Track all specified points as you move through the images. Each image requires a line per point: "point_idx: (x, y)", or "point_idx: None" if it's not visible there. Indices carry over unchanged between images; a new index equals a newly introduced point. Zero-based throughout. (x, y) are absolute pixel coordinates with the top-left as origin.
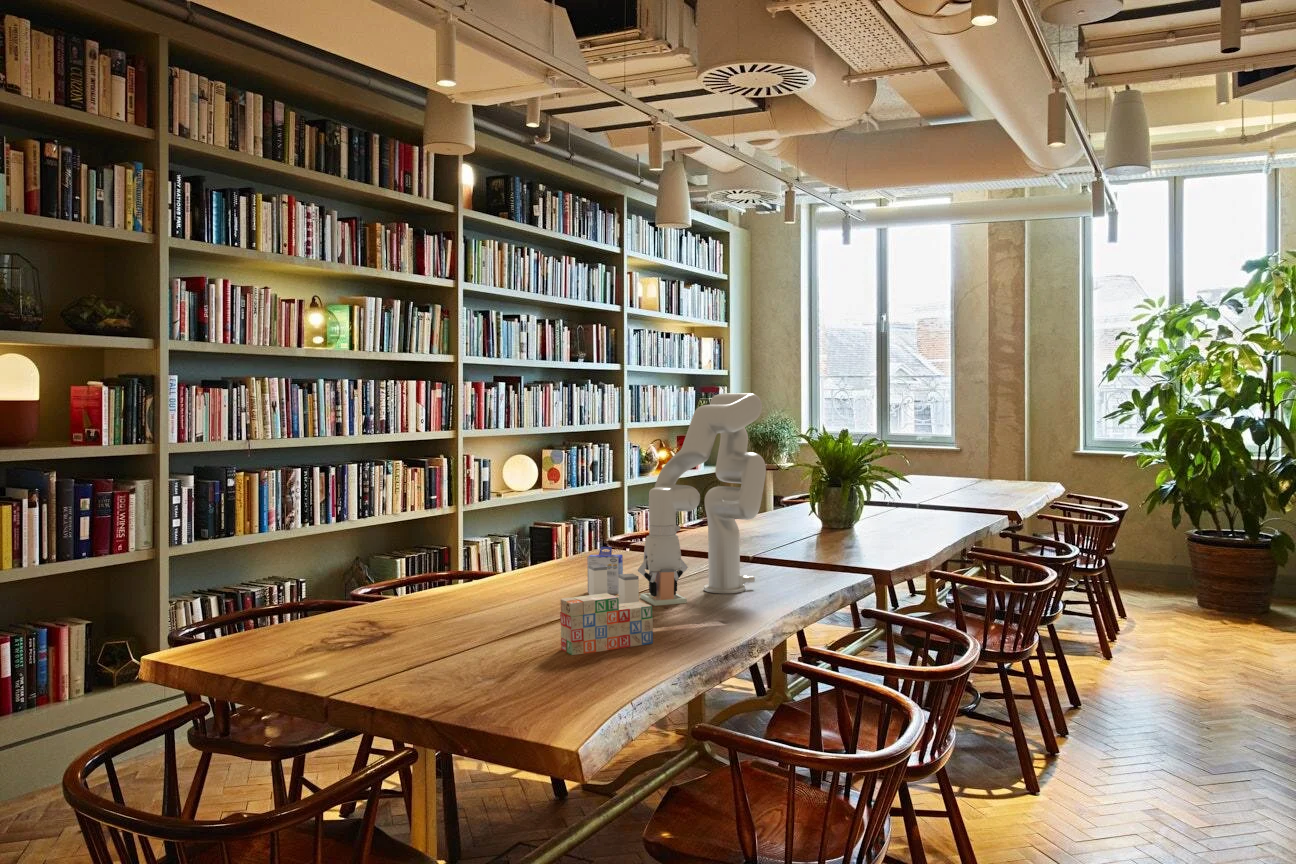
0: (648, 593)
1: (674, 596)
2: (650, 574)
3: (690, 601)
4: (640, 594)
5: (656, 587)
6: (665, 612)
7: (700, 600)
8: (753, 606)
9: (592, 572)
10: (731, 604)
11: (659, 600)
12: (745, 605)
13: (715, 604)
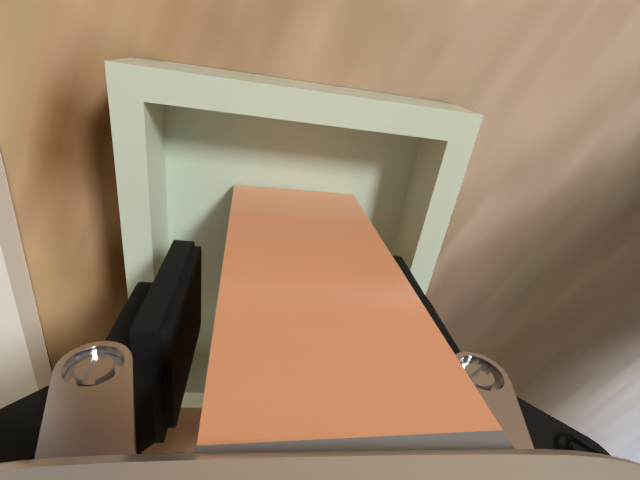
0: (208, 97)
1: (408, 244)
2: (74, 456)
3: (513, 227)
4: (107, 68)
5: (184, 388)
6: (198, 417)
7: (584, 230)
8: (629, 441)
9: None
10: (605, 383)
11: (183, 400)
12: (626, 418)
13: (550, 356)
